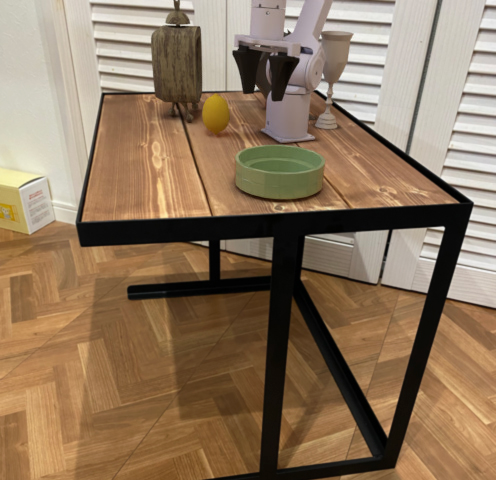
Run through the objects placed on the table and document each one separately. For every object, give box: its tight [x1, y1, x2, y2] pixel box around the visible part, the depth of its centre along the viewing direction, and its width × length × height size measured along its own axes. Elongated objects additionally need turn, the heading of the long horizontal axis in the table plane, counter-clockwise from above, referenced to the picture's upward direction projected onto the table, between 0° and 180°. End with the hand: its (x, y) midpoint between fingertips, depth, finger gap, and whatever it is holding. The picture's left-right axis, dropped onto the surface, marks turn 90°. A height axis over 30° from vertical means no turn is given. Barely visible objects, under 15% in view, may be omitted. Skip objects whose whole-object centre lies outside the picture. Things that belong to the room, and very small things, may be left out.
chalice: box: [314, 30, 354, 130], centre depth 108 cm, size 7×7×18 cm
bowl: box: [234, 144, 326, 200], centre depth 82 cm, size 14×14×4 cm
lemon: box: [201, 93, 231, 136], centre depth 103 cm, size 6×6×8 cm
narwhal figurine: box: [255, 28, 316, 120], centre depth 118 cm, size 14×15×18 cm
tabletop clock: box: [150, 0, 203, 123], centre depth 109 cm, size 14×9×25 cm, turn 179°
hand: (262, 97), depth 91 cm, fingers open, 7 cm apart
